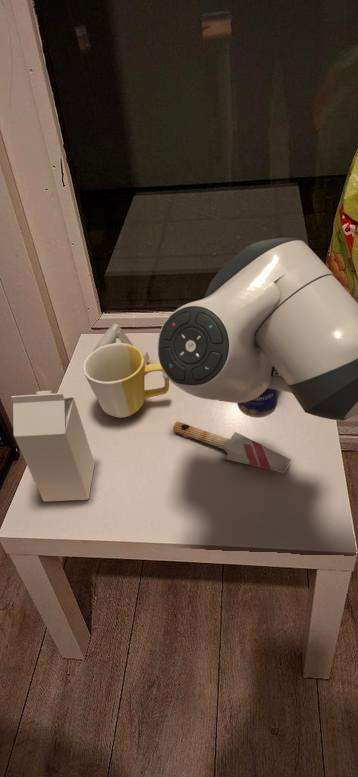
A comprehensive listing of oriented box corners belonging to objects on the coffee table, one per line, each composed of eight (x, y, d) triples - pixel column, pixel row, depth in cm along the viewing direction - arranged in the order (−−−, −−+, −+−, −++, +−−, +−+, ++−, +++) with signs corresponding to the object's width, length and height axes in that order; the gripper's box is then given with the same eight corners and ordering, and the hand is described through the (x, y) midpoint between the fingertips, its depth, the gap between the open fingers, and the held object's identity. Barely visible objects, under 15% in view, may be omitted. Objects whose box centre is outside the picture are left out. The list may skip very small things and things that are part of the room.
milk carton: (89, 500, 82) (57, 412, 70) (43, 502, 83) (3, 415, 70) (95, 464, 88) (67, 375, 75) (52, 466, 88) (17, 379, 75)
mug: (88, 426, 94) (74, 381, 87) (104, 386, 101) (92, 341, 94) (165, 430, 91) (157, 384, 84) (175, 389, 99) (169, 343, 92)
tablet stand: (134, 390, 99) (124, 354, 94) (95, 385, 102) (84, 350, 96) (150, 361, 105) (142, 325, 100) (113, 357, 108) (104, 322, 102)
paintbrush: (282, 468, 79) (168, 428, 89) (282, 480, 81) (171, 439, 91) (292, 450, 81) (181, 412, 91) (293, 462, 83) (183, 424, 93)
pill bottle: (238, 420, 76) (236, 366, 70) (236, 392, 81) (234, 339, 74) (279, 418, 76) (281, 364, 69) (275, 390, 80) (277, 336, 73)
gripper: (332, 352, 58) (339, 364, 71) (160, 324, 65) (195, 340, 78) (320, 409, 58) (330, 411, 71) (149, 375, 65) (186, 383, 78)
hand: (258, 374), depth 75 cm, fingers closed on pill bottle, 6 cm apart
